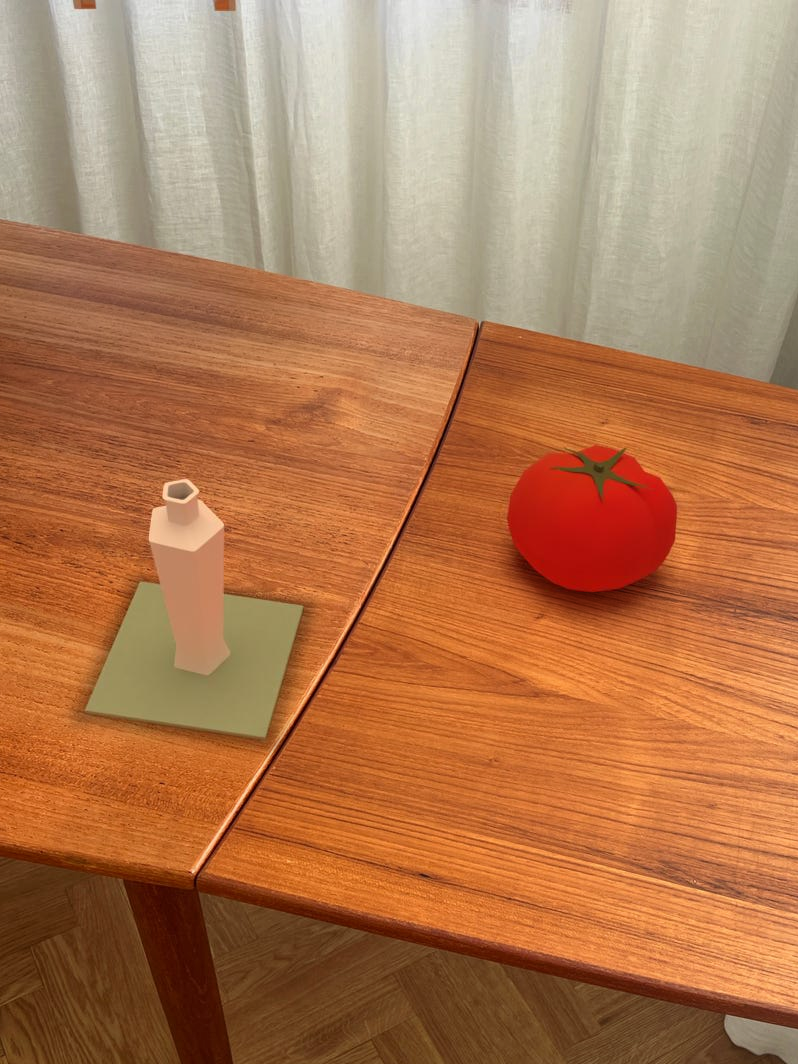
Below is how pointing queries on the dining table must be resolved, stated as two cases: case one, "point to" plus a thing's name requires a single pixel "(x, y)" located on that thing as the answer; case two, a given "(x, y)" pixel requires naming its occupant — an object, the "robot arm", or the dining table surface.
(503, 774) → the dining table surface
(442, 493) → the dining table surface
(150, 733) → the dining table surface
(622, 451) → the tomato
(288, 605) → the front mat
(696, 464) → the dining table surface
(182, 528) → the perfume bottle
